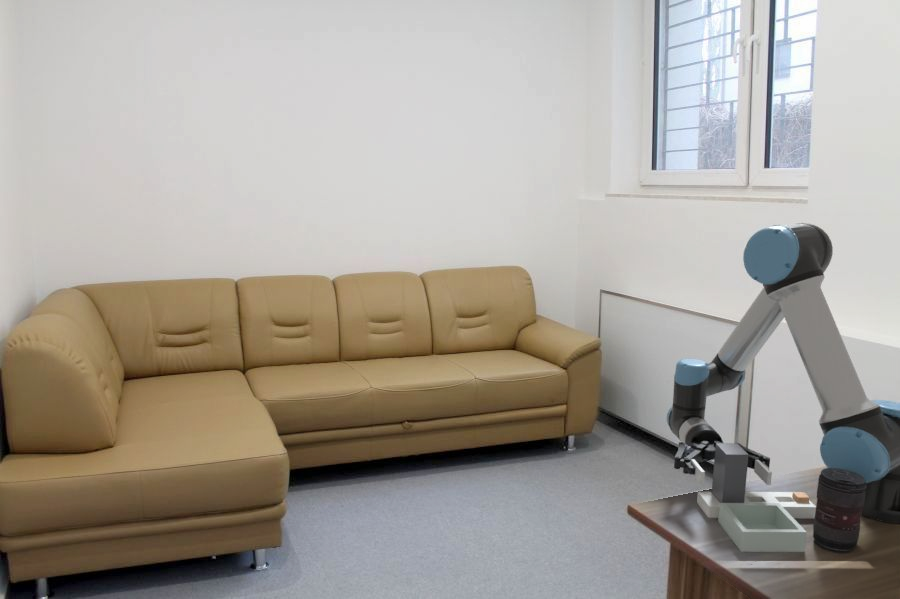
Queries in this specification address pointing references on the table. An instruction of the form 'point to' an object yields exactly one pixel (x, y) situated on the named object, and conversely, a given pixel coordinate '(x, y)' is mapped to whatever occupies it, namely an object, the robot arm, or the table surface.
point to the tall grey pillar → (729, 473)
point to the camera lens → (839, 509)
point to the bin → (762, 527)
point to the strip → (790, 501)
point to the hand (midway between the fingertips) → (736, 478)
